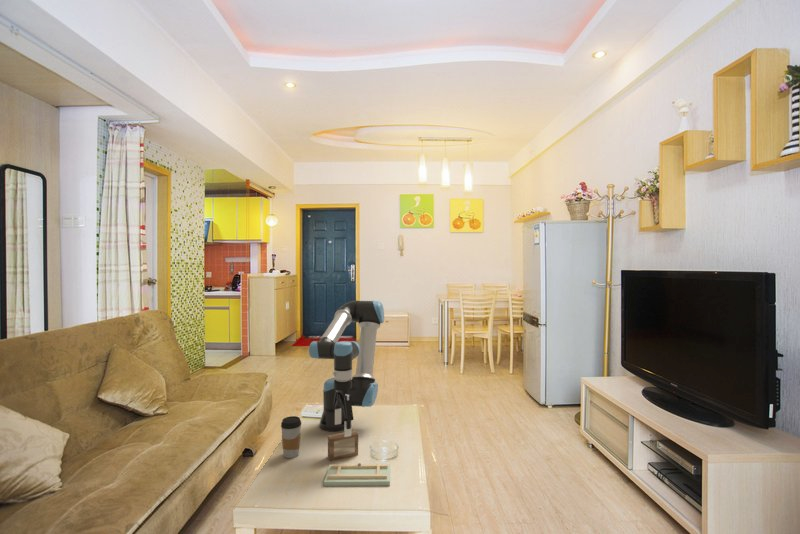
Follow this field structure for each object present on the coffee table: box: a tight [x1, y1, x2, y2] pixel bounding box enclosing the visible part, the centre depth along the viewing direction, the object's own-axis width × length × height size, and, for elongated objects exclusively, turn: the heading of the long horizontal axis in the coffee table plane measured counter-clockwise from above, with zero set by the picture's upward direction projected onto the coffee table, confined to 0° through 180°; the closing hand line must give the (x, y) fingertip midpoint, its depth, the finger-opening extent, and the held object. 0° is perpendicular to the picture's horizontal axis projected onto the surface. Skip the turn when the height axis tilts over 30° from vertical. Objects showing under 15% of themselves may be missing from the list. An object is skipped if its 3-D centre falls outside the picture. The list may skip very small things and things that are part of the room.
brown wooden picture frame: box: [327, 429, 359, 462], centre depth 163 cm, size 4×12×9 cm, turn 116°
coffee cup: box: [280, 415, 302, 459], centre depth 164 cm, size 8×8×15 cm
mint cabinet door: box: [323, 462, 391, 487], centre depth 148 cm, size 12×24×3 cm, turn 91°
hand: (342, 429), depth 163 cm, fingers open, 13 cm apart
